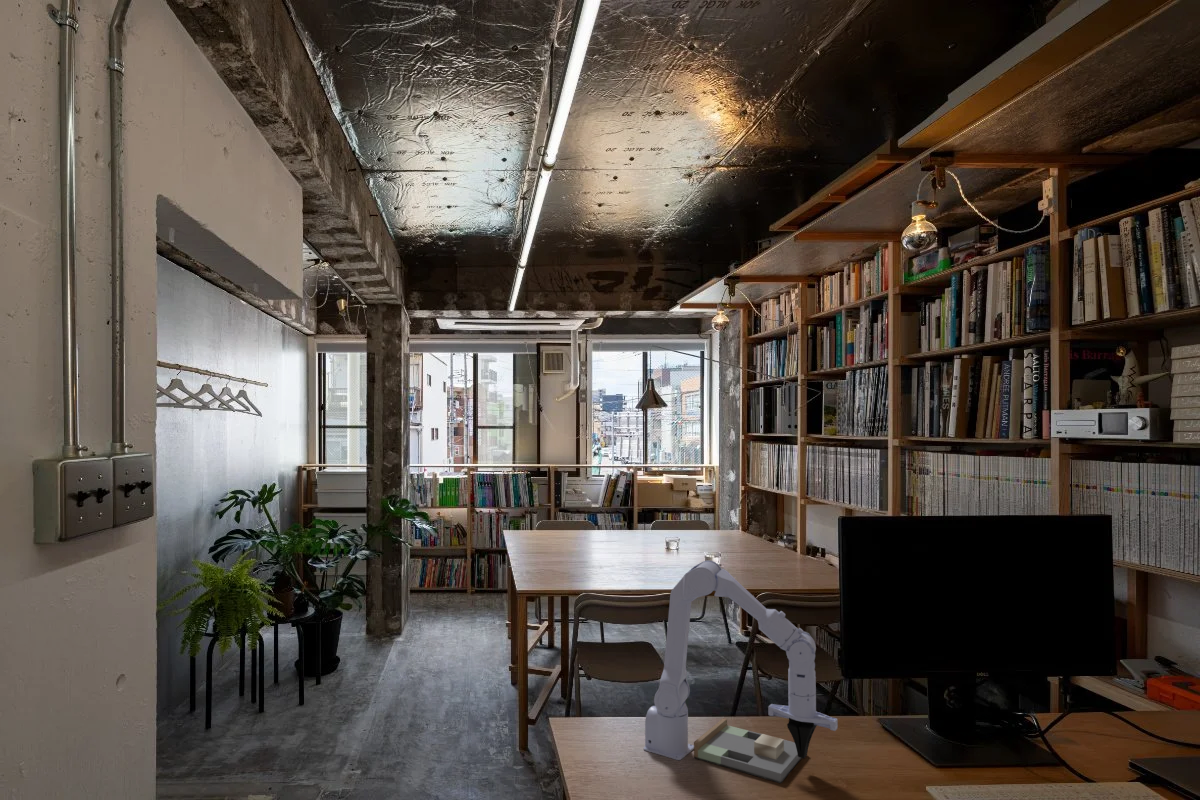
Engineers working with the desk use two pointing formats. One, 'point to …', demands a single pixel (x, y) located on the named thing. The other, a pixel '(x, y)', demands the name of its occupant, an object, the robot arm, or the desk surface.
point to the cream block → (769, 746)
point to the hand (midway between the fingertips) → (802, 755)
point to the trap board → (743, 752)
